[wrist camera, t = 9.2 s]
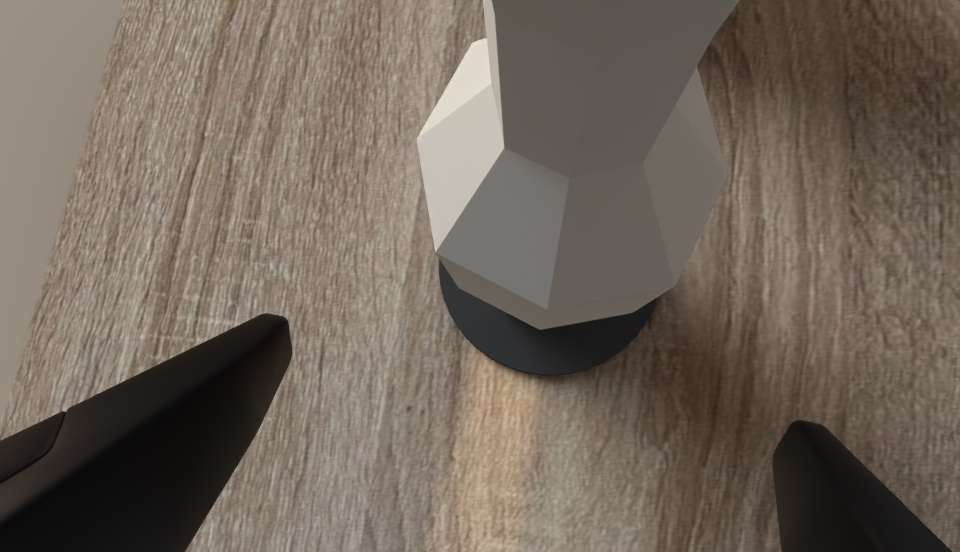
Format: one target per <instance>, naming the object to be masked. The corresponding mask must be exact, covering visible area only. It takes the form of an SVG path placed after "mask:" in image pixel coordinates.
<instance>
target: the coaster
mask: <svg viewBox="0 0 960 552" xmlns="http://www.w3.org/2000/svg"><path fill="white" fill-rule="evenodd" d="M439 276H440V285H441V289H442V293H443V297H444V300H445V303H446V305H447V308H448V310H449V313H450V315H451V316H452V318H453V320H454V322H455V323H456V325H457V326H458V328H459V329H460V330H461V332H462V333H463V334H464V336H465V337H466V338H467V339H468V340H469V341H470V342H471V343H472V344H473V345H474V346H475V347H476V348H477V349H479V350H480V351H481V352H483V353H484V354H485V355H486V356H488V357H490V358H491V359H493V360H495V361H496V362H498V363H500V364H502V365H504V366H507V367H509V368H511V369H514V370H518V371H521V372H525V373H530V374H537V375H564V374H572V373H576V372H580V371H583V370H587V369H590V368H592V367H594V366H597V365H599V364H602V363H603V362H605V361H607V360H608V359H610V358H612V357H613V356H615V355H616V354H617V353H619V352H620V351H621V350H623V349H624V348H625V347H626V346H627V345H628V344H629V343H630V342H631V341H632V340H633V339H634V338H635V337H636V336H637V334H638V333H639V332H640V330H641V329H642V328H643V326H644V325H645V323H646V321H647V319H648V318H649V316H650V314H651V312H652V309H653V307H654V304H655V301H656V299H657V298H655V299H654V300H652V301H650V302H649V303H647V304H646V305H644V306H642V307H641V308H639V309H638V310H636V311H634V312H633V313H629V314H624V315H618V316H613V317H608V318H602V319H597V320H591V321H586V322H580V323H575V324H570V325H564V326H559V327H553V328H548V329H543V330H539V329H537V328H535V327H533V326H531V325H529V324H527V323H526V322H524V321H522V320H520V319H518V318H516V317H514V316H512V315H510V314H508V313H506V312H504V311H502V310H500V309H498V308H497V307H495V306H493V305H491V304H489V303H487V302H485V301H483V300H481V299H479V298H477V297H475V296H473V295H471V294H469V293H468V292H466V291H464V290H462V289H460V288H458V286H457V285H456V283H455V282H454V280H453V279H452V277H451V275H450V274H449V272H448V271H447V269H446V268H445V266H444V265H443V263H442V262H441V260H440V259H439Z"/></svg>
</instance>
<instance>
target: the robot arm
mask: <svg viewBox="0 0 960 552" xmlns="http://www.w3.org/2000/svg"><path fill="white" fill-rule="evenodd" d="M291 357H292V345H291V338H290V331H289V324H288V321H287V319H286V318H285V317H283V316H278V315H273V314H268V313H265V314H261V315H259V316H257V317H255V318H253V319H251V320H249V321H247V322H245V323H243V324H241V325H239V326H236V327H234V328H232V329H230V330H228V331H226V332H224V333H222V334H220V335H218V336H216V337H214V338H212V339H210V340H208V341H206V342H204V343H202V344H200V345H198V346H195V347H193V348H191V349H189V350H187V351H185V352H183V353H181V354H179V355H177V356H175V357H173V358H171V359H169V360H167V361H165V362H163V363H161V364H159V365H157V366H155V367H152V368H150V369H148V370H146V371H144V372H142V373H140V374H138V375H136V376H134V377H132V378H130V379H128V380H126V381H124V382H122V383H120V384H118V385H116V386H114V387H111V388H109V389H107V390H105V391H103V392H101V393H99V394H97V395H95V396H93V397H91V398H89V399H87V400H85V401H83V402H81V403H79V404H77V405H75V406H72V407H70V408H69V409H68V410H67V412H64V411H62V412H60V413H58V414H56V415H54V416H52V417H50V418H48V419H46V420H44V421H42V422H39V423H37V424H35V425H33V426H31V427H29V428H27V429H25V430H22V431H20V432H18V433H16V434H14V435H12V436H10V437H8V438H5V439H3V440H1V441H0V552H185V551H186V549H187V547H188V546H189V544H190V543H191V541H192V539H193V538H194V536H195V534H196V533H197V531H198V529H199V528H200V526H201V524H202V523H203V521H204V519H205V518H206V516H207V515H208V513H209V511H210V510H211V508H212V506H213V505H214V503H215V501H216V500H217V498H218V496H219V495H220V493H221V492H222V490H223V488H224V487H225V485H226V483H227V482H228V480H229V478H230V477H231V475H232V473H233V472H234V470H235V468H236V467H237V465H238V464H239V462H240V460H241V459H242V457H243V455H244V454H245V452H246V450H247V449H248V447H249V445H250V444H251V442H252V440H253V439H254V437H255V435H256V433H257V431H258V429H259V427H260V425H261V423H262V421H263V419H264V417H265V415H266V413H267V411H268V409H269V406H270V404H271V402H272V400H273V398H274V396H275V393H276V391H277V389H278V387H279V385H280V383H281V381H282V378H283V376H284V374H285V372H286V370H287V368H288V366H289V363H290V361H291ZM773 474H774V484H775V493H776V503H777V513H778V523H779V533H780V541H781V549H782V552H952V551H951V550H950V549H949V548H948V547H947V546H946V545H945V544H944V543H943V542H942V541H941V540H940V539H939V538H938V537H937V536H936V535H935V534H934V533H933V532H932V531H931V530H930V529H928V528H927V527H926V526H925V525H924V524H923V523H922V522H921V521H920V520H919V519H918V518H917V517H916V516H915V515H914V514H913V513H912V512H911V511H910V510H909V509H908V508H907V507H906V506H905V505H904V504H903V503H902V502H901V501H900V500H899V499H898V498H897V497H896V496H895V495H894V494H893V493H892V492H891V491H890V490H889V489H888V488H887V487H886V486H885V485H884V484H883V483H882V482H881V481H880V480H879V479H878V478H877V477H876V476H875V475H874V474H873V473H872V472H871V471H869V470H868V469H867V468H866V467H865V466H864V465H863V464H862V463H861V462H860V461H859V460H858V459H857V458H856V457H855V456H854V455H853V454H852V453H851V452H850V451H849V450H848V449H847V448H846V447H845V446H844V445H843V444H842V443H841V442H840V441H839V440H838V439H837V438H836V437H835V436H834V435H833V434H832V433H831V432H830V431H829V430H828V429H827V428H825V427H824V426H823V425H821V424H818V423H813V422H808V421H803V420H796V421H794V422H792V423H791V425H790V426H789V428H788V429H787V431H786V433H785V434H784V436H783V438H782V439H781V441H780V442H779V444H778V446H777V447H776V449H775V451H774V454H773Z"/></svg>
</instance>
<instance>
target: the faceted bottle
mask: <svg viewBox="0 0 960 552" xmlns="http://www.w3.org/2000/svg"><path fill="white" fill-rule="evenodd" d="M739 1H740V0H483V4H484V14H485V24H486V34H487V38H485V39H482V40H479V41H476V42H473V43H472V44H471V46H470V48H469V50H468V51H467V53H466V55H465V56H464V58H463V60H462V62H461V63H460V65H459V67H458V69H457V70H456V72H455V74H454V75H453V77H452V79H451V81H450V82H449V84H448V86H447V88H446V89H445V91H444V93H443V95H442V96H441V98H440V100H439V101H438V103H437V105H436V107H435V108H434V110H433V112H432V114H431V115H430V117H429V119H428V120H427V122H426V124H425V126H424V127H423V129H422V131H421V133H420V134H419V136H418V138H417V144H418V150H419V156H420V162H421V168H422V175H423V181H424V187H425V193H426V199H427V205H428V211H429V217H430V223H431V229H432V235H433V241H434V247H435V253H436V254H437V256H438V257H439V259H440V260H441V262H442V263H443V265H444V266H445V268H446V269H447V271H448V272H449V274H450V275H451V277H452V279H453V280H454V282H455V283H456V285H457V286H458V288H460V289H462V290H464V291H466V292H468V293H469V294H471V295H473V296H475V297H477V298H479V299H481V300H483V301H485V302H487V303H489V304H491V305H493V306H495V307H497V308H498V309H500V310H502V311H504V312H506V313H508V314H510V315H512V316H514V317H516V318H518V319H520V320H522V321H524V322H526V323H527V324H529V325H531V326H533V327H535V328H537V329H539V330H543V329H548V328H553V327H559V326H564V325H570V324H575V323H580V322H586V321H591V320H597V319H602V318H608V317H613V316H618V315H624V314H629V313H633V312H634V311H636V310H638V309H639V308H641V307H642V306H644V305H646V304H647V303H649V302H650V301H652V300H654V299H655V298H657V297H658V296H660V295H661V294H663V293H665V292H666V291H668V290H669V289H671V288H673V287H674V286H675V285H676V283H677V281H678V279H679V277H680V275H681V273H682V271H683V269H684V267H685V265H686V263H687V260H688V258H689V256H690V254H691V252H692V250H693V248H694V246H695V244H696V242H697V240H698V238H699V235H700V233H701V231H702V229H703V227H704V225H705V223H706V221H707V219H708V217H709V215H710V213H711V211H712V208H713V206H714V204H715V202H716V200H717V198H718V196H719V194H720V192H721V190H722V188H723V186H724V183H725V181H726V179H727V177H728V173H727V169H726V166H725V163H724V159H723V156H722V152H721V149H720V145H719V142H718V138H717V135H716V131H715V128H714V124H713V121H712V117H711V114H710V110H709V107H708V103H707V100H706V97H705V93H704V90H703V86H702V83H701V79H700V76H699V72H698V69H697V65H698V64H699V62H700V60H701V58H702V56H703V55H704V53H705V51H706V49H707V47H708V46H709V44H710V42H711V40H712V38H713V37H714V35H715V34H716V32H717V31H718V30H719V28H720V27H721V25H722V24H723V23H724V21H725V20H726V19H727V17H728V16H729V15H730V13H731V12H732V11H733V9H734V8H735V7H736V5H737V4H738V3H739Z"/></svg>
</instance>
